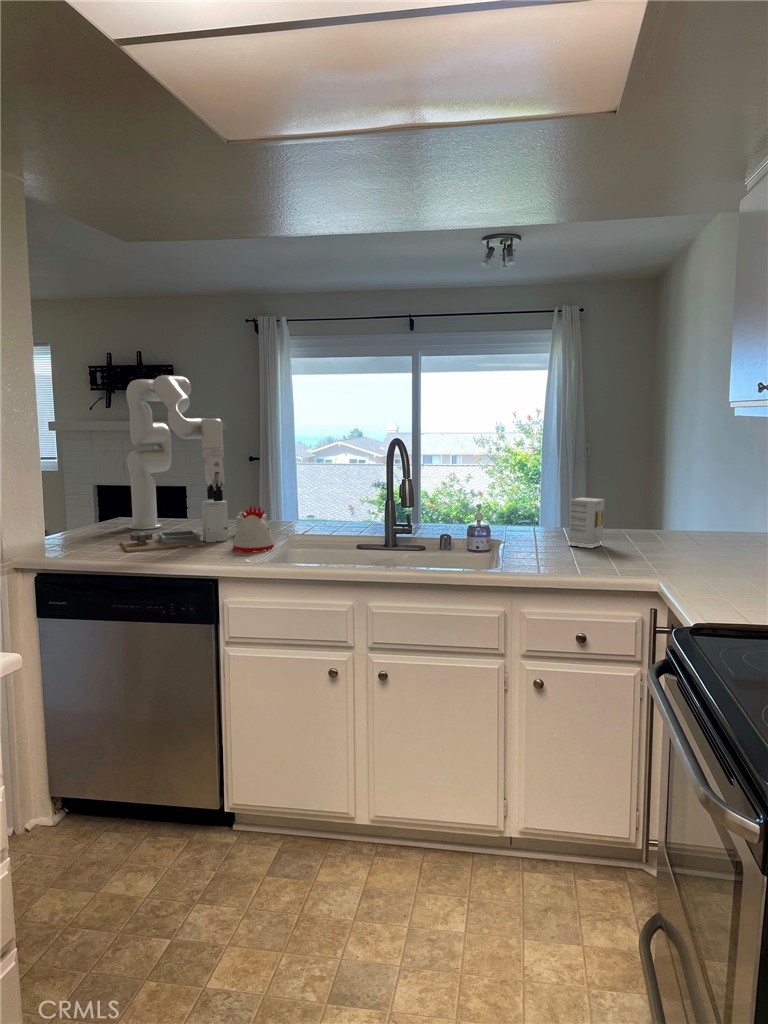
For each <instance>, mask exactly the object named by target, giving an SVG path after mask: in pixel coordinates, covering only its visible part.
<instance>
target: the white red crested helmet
mask: <svg viewBox="0 0 768 1024" xmlns="http://www.w3.org/2000/svg"><path fill="white" fill-rule="evenodd" d="M257 511H258V512H257ZM241 512H242V515H243V517H244V519H243V520H242V522H241V523H240V524H239V526H238V528H236V530H235V534H234V538H233V541H232V549H234V550H233V551H235V550H236V551H235V552H238V551H242V552H241V553H254V552H253V551H263V550H269V549H272V548H273V547H274V548H275V544H274V538H273V534H272V531H271V528H270V527H269V525H268V524H266V522H267V521H266V522H265V521H264V520H263V519H262V516H263V514H265V512H266V510H265V509H264V510H262V506H258V509H257V508H256V505H253V507H252V505H249V509H248V508H245V512H244V511H241ZM243 512H244V513H246V515H245V514H244V513H243ZM274 548H273V549H274ZM273 549H272V550H273ZM269 551H270V550H269Z"/></svg>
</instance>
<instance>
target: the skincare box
mask: <svg viewBox="0 0 768 1024" xmlns="http://www.w3.org/2000/svg"><path fill="white" fill-rule="evenodd" d="M228 511H229V510H228V501H227V500H224V499H223V501H217V502H215V501H214V499H208V500H202V502H201V512H202V515H201V516H202V517H201V518H202V519H201V521H202V523H201V525H202V528H201V529H202V541H204V542H205V541H206V542H205V543H217V542H216V541H219V542H227V541H228V540H229V538H228V534H229V533H228V532H229V531H228V525H229V524H228V523H229V522H228V521H229V520H228V517H229V516H228V514H229V513H228Z"/></svg>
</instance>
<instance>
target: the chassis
mask: <svg viewBox="0 0 768 1024" xmlns="http://www.w3.org/2000/svg"><path fill="white" fill-rule="evenodd" d="M141 534H145V533H139V535H141ZM201 538H202V536H201V534H200V533H199V532H197V531H196V530H178V531H163V532H157V537H152V540H146V541H131V540H130V539H128V540H127V539H125V540H120V544H121V546H122V545H123V546H122V547H123V549H124V548H125V549H124V550H125V552H126V551H127V552H126V553H131V552H130V551H137V552H145V551H144V550H150V551H157V550H156V549H162V550H169V549H168V548H174V549H181V548H180V547H187V548H190V547H189V546H199V547H205V542H203V540H202V539H201Z"/></svg>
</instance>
